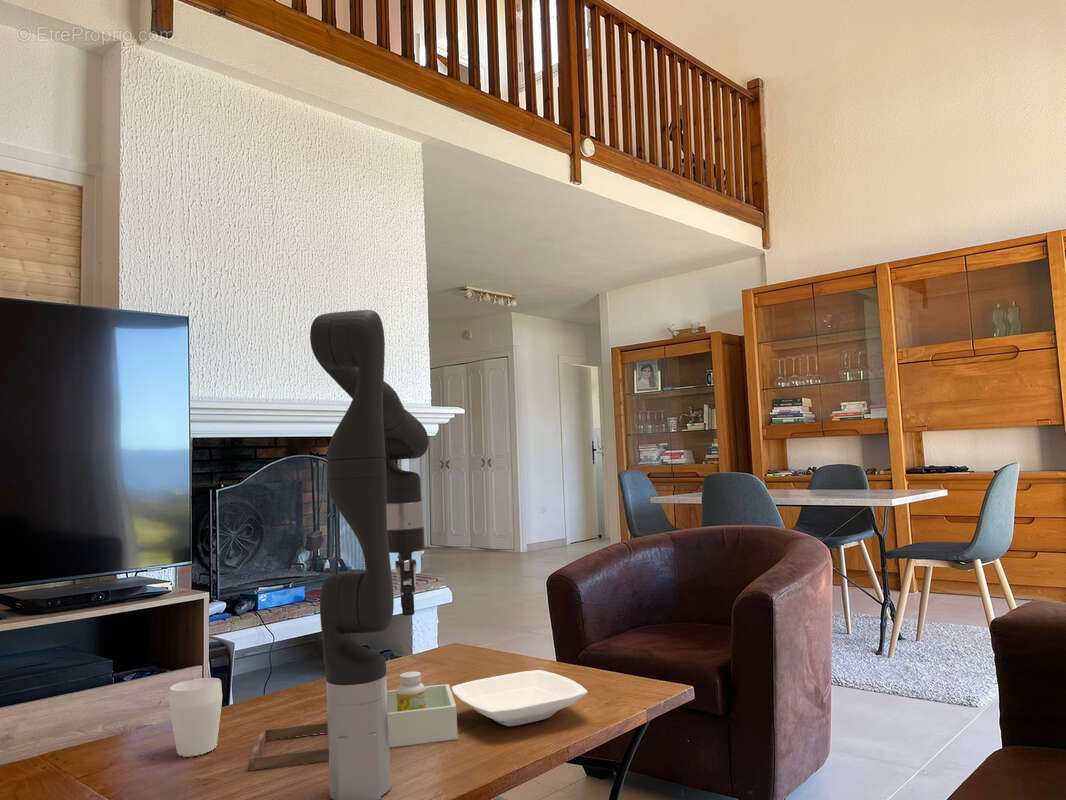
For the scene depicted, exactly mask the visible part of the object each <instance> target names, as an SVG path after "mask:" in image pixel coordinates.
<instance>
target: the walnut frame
mask: <svg viewBox="0 0 1066 800" xmlns="http://www.w3.org/2000/svg"><path fill="white" fill-rule="evenodd" d="M320 733H328V721H324V722H315V723H306V724H305V723H304V724H299V725H290V726H281V727H272V728H263V729H261V731H260V733H259V736H258V738H257V740H256V742H255V745H254V747H253V749H252V750H251V753H250V755H249V758H248V771H249V770H252V769H253V771H255V770H254V769H261V770H264V769H263V768H269V769H276V768H275V767H277V768H284V767H291V766H290V765H293V766H299V765H298V764H301V765H307V764H306V763H309V764H316V763H315V762H317V763H323V762H324V761H325V762H329V752H328V747H323V748H321V747H319V748H314V749H304V750H298V751H297V750H296V751H290V752H289V751H287V752H283V753H282V752H281V753H273V754H272V753H271V754H263V755H262V753H261V751H262V752H263V750H264V748H263V747H265V746H266V743H267V741H266V740H273V739H280V738H281V740H283V739H282V738H288V737H296V736H303V735H313V734H320ZM273 741H274V740H273ZM265 742H266V743H265ZM264 745H265V746H264ZM262 749H263V750H262ZM260 754H261V755H260ZM304 763H305V764H304Z"/></svg>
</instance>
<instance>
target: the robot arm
mask: <svg viewBox="0 0 1066 800" xmlns="http://www.w3.org/2000/svg"><path fill="white" fill-rule="evenodd" d="M309 334H310V335H309V339H310V340H309V341H310V346H311V349H312V353H313V355H314V358H315V359H316V361H317V363H318V364H319V365H320V367H321V368H322V369H323V370H324V372H326V373H327V374H328V376H330V377H331V379H332V380H333V381H335V382H336V384H337V385H338V386H339V387H340V388H341V389H342V390H343V391H344V392H345V393H346V394H347V395H348V396H349V397H350V398H351V399H352V400H351V402H350V405H349V406H348V408H347V411H346V412H345V414H344V415H343V416H342V419H341V421H340V422H339V424H338V426H337V427H336V429H335V431H334V433H333V434H332V437H331V439H330V441H329V444H328V445H327V450H326V468H327V469H326V470H327V471H326V473H327V475H326V476H327V489H328V494H329V497H330V498H331V500H332V502H333V503H334V505H335V507H336V508H337V510H338V511H339V513H340V514H341V516H342V518H343V519H344V520H345V522H346V523H347V525H348V526H349V528H350V529H351V530H352V532H353V534H354V536H355V537H356V539H357V541H358V544H359V546H360V548H361V551H362V555H363V558H364V559H363V560H364V565H365V570H366V571H365V572H350V573H349V572H348V573H347V572H346V573H345V572H344V573H335V574H330V575H329V576H327V577H326V578H325V579H324V581H323V583H322V586H321V589H320V593H319V617H320V618H319V619H320V627H321V638H322V655H323V665H324V669H325V680H326V681H325V683H326V685H325V686H326V715H327V717H326V718H327V721H326V722H328V734H327V742H328V743H327V745H328V747H327V748H328V752H329V761H328V772H329V776H328V777H329V796H330V798H331V799H332V800H381V799H382V796H384V795H386V793H388V792H389V791H391V788H392V785H391V783H392V782H391V781H392V780H391V759H390V756H391V755H390V748H389V729H388V703H387V691H388V681H387V680H388V679H387V662H386V661H387V660H386V658H385V656H384V655H383V654H382V653H380V652H378V651H376V650H372V649H369V648H367V647H365V646H364V645H361V644H360V643H359V642H357V641H356V640H355V639H354V638H353V637H352V636H353V635H352V634H367V633H368V634H369V633H382V632H384V631H387V630H388V629H389V628H390V626H391V623H392V620H393V619H394V618H393V616H394V607H395V606H394V603H395V601H394V600H395V599H394V598H395V597H394V587H393V585H394V584H393V575H392V567H391V558H390V557H391V555H390V553H391V554H397V559H398V560H395V561H394V562H395V563H394V565H395V572H396V580H397V584H398V587H399V589H400V591H399V593H400V606H401V612H402V613H401V614H402V615H403V616H405V617H406V616H413V615H414V614H415V596H414V595H415V592H416V587H415V585H416V583H417V574H416V573H417V572H416V571H417V560H416V559H413V557H412V555H413V553H414V552H420V551H423V550H424V549H425V548H426V547H425V545H426V544H425V523H424V511H423V505H422V488H421V487H422V485H421V484H422V483H421V477H420V475H419V473H417V472H415V471H414V472H413V471H411V470H409V471H408V470H404V469H400V467H398V465H397V463H396V460H413V459H418V458H421V457H423V456H425V454H426V452H427V450H428V448H429V435H428V432H427V430H426V428H425V426H424V425H423V424H422V423H421V421H419V420H418V419H417V418H416V417H415V416H414V415H413V414H412V413H410V412H409V410H407V409H405V407H404V405H403V403H402V402H401V398H400V397H399V395H398V393H397V392H396V391H395V389H394V388H393V387H392V385H390V384H388V382H386V381H384V379H385V354H386V353H385V349H386V345H385V344H386V343H385V342H386V341H385V329H384V326H383V321H382V318H381V316H380V314H379V313H378V312H376V311H375V310H372V309H358V310H349V311H347V310H346V311H336V312H327V313H323V314H320V315H318V316H315V318H314V319H313V321H312V324H311V326H310V332H309Z"/></svg>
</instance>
